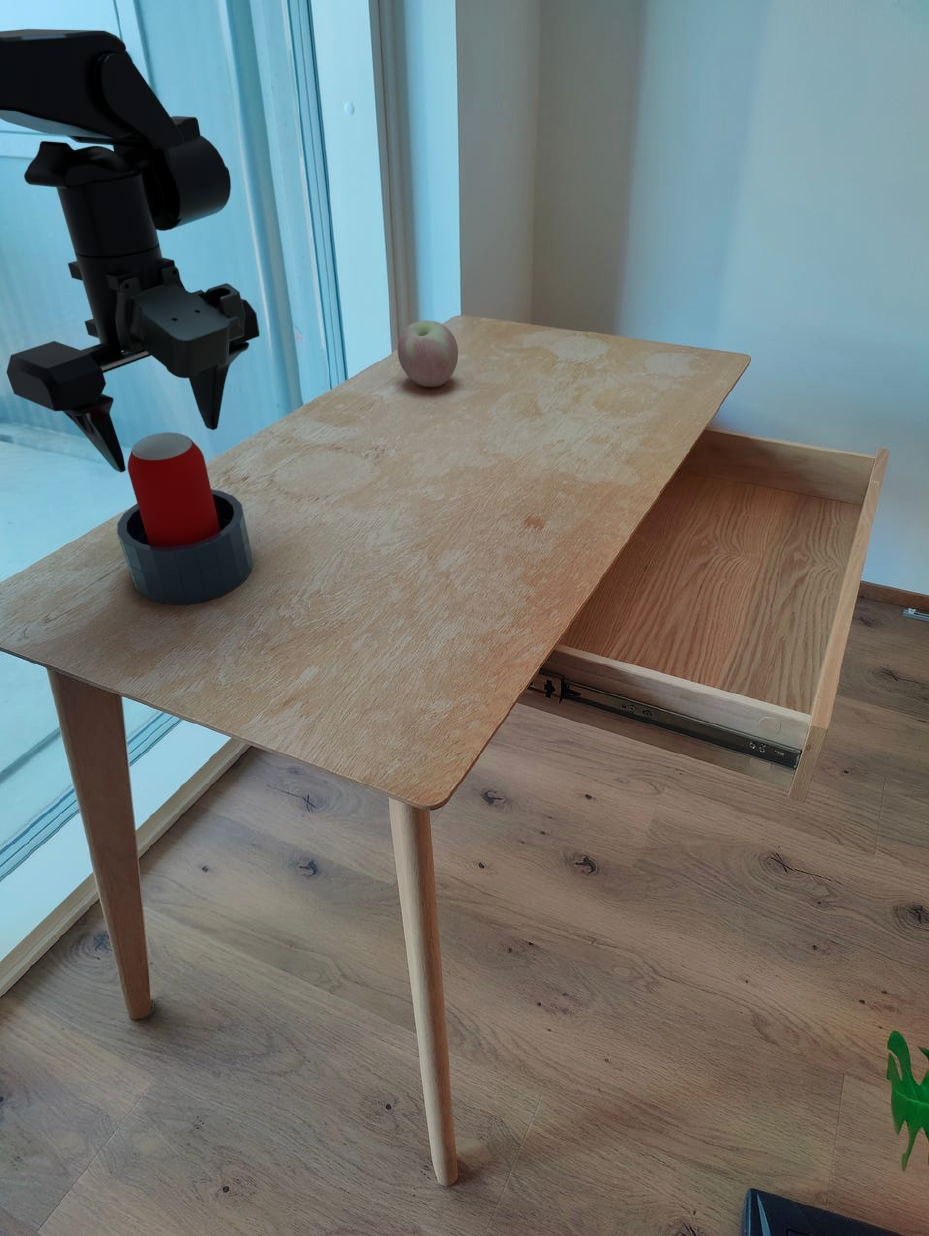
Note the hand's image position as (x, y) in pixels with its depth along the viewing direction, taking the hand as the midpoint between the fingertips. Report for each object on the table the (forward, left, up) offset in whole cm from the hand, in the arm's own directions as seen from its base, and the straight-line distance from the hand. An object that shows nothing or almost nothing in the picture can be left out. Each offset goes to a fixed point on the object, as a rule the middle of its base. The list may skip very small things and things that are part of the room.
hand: (167, 448), depth 68 cm
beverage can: (0, 0, -12) cm, 12 cm away
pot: (0, +1, -12) cm, 12 cm away
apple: (+46, +10, -12) cm, 49 cm away
